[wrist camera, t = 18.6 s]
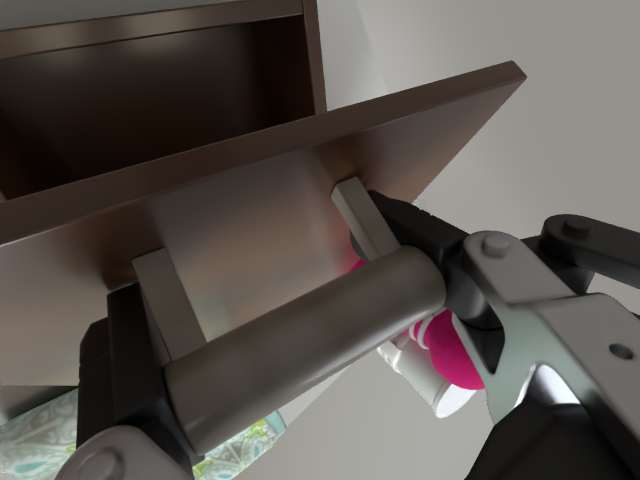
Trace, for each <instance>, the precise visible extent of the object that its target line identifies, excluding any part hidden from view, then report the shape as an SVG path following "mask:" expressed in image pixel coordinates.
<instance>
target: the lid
mask: <svg viewBox="0 0 640 480" xmlns="http://www.w3.org/2000/svg"><path fill="white" fill-rule="evenodd" d="M526 78H527V76H526V74H525V73H524V72H523V71H522V70H521V69H520V68H519V66H518V65H517V64H516V63H515V62H514V61H508V62H504V63H500V64H497V65H493V66H490V67H486V68H483V69H479V70H475V71H472V72H468V73H465V74H461V75H457V76H454V77H450V78H446V79H443V80H439V81H436V82H433V83H428V84H425V85H421V86H418V87H414V88H410V89H407V90H403V91H400V92H396V93H393V94H389V95H385V96H382V97H378V98H374V99H371V100H367V101H364V102H360V103H356V104H353V105H349V106H346V107H342V108H338V109H335V110H331V111H328V112H324V113H320V114H317V115H313V116H310V117H306V118H303V119H299V120H295V121H292V122H288V123H285V124H281V125H277V126H274V127H270V128H267V129H263V130H259V131H256V132H252V133H249V134H245V135H241V136H238V137H234V138H231V139H227V140H223V141H220V142H216V143H213V144H209V145H205V146H202V147H198V148H195V149H191V150H187V151H184V152H180V153H177V154H173V155H169V156H166V157H162V158H159V159H155V160H151V161H148V162H144V163H141V164H137V165H133V166H130V167H126V168H123V169H119V170H115V171H112V172H108V173H105V174H101V175H97V176H94V177H90V178H87V179H83V180H79V181H76V182H72V183H69V184H65V185H61V186H58V187H54V188H51V189H47V190H43V191H40V192H36V193H33V194H29V195H25V196H22V197H18V198H15V199H11V200H8V201H4V202H0V386H78V382H80V380H79V366H80V363H79V355H80V343H81V341H82V339H83V337H84V335H85V333H86V331H87V330H88V328H89V326H90V324H91V323H94V322H96V321H98V320H101V319H103V318H105V317H108V312H107V294H108V293H111V292H113V291H116V290H118V289H121V288H123V287H126V286H128V285H131V284H133V283H136V282H138V281H140V284H141V286H142V289H143V291H144V294H145V297H146V299H147V302H148V304H149V307H150V310H151V312H152V315H153V317H154V320H155V322H156V325H157V328H158V330H159V333H160V335H161V338H162V341H163V343H164V346H165V348H166V351H167V353H168V356H169V359H170V361H169V362H168V363H167V364H166V365H165V366H164V380H165V385H166V389H167V393H168V396H169V400H170V403H171V406H172V408H173V411H174V414H175V416H176V419H177V421H178V424H179V426H180V428H181V431H182V433H183V435H184V437H185V438H186V440H187V442H188V444H189V445H190V447H191V448H192V450H193V451H194V452H195V453H196V454H197V455H199V456H202V455H205V454H206V453H208V452H210V451H211V450H213V449H215V448H216V447H218V446H219V445H221V444H223V443H224V442H226V441H227V440H229V439H231V438H232V437H234V436H235V435H237V434H239V433H240V432H242V431H244V430H245V429H247V428H248V427H250V426H252V425H253V424H255V423H256V422H258V421H260V420H261V419H263V418H264V417H266V416H268V415H269V414H271V413H273V412H274V411H276V410H277V409H279V408H281V407H282V406H284V405H285V404H287V403H289V402H290V401H292V400H293V399H295V398H297V397H298V396H300V395H302V394H303V393H305V392H306V391H308V390H310V389H311V388H313V387H314V386H316V385H318V384H319V383H321V382H322V381H324V380H326V379H327V378H329V377H331V376H332V375H334V374H335V373H337V372H339V371H340V370H342V369H343V368H345V367H347V366H348V365H350V364H351V363H353V362H355V361H356V360H358V359H360V358H361V357H363V356H364V355H366V354H367V353H369V352H371V351H372V350H374V349H376V348H377V347H379V346H380V345H382V344H384V343H385V342H387V341H389V340H390V339H392V338H393V337H395V336H397V335H398V334H400V333H401V332H403V331H405V330H406V329H408V328H409V327H411V326H413V325H414V324H416V323H418V322H419V321H421V320H422V319H424V318H426V317H427V316H429V315H430V314H432V313H434V312H435V311H437V310H438V309H440V308H441V307H442V306H443V304H444V302H445V300H446V286H445V282H444V279H443V277H442V274H441V272H440V270H439V269H438V267H437V266H436V264H435V263H434V261H433V260H432V259H431V258H430V257H429V256H428V255H427V254H426V253H425V252H423V251H422V250H421V249H419V248H417V247H414V246H411V245H403V246H401V245H400V243H399V242H398V240H397V238H396V237H395V235H394V234H393V232H392V231H391V229H390V228H389V226H388V224H387V223H386V221H385V220H384V218H383V217H382V215H381V213H380V212H379V210H378V209H377V207H376V206H375V204H374V203H373V201H372V199H371V198H370V196H369V195H368V193H367V192H366V191H367V190H370V189H373V190H375V191H377V192H379V193H381V194H383V195H385V196H386V197H388V198H393V199H397V200H402V201H406V202H408V203H410V204H411V203H412V202H413V201H414V200H415V199H416V198H417V197H418V196H419V195H420V194H421V193H422V191H423V190H424V189H425V188H426V187H427V186H428V185H429V184H430V183H431V182H432V181H433V179H434V178H435V177H436V176H437V175H438V174H439V173H440V172H441V171H442V170H443V169H444V167H445V166H446V165H447V164H448V163H449V162H450V161H451V160H452V159H453V158H454V157H455V156H456V155H457V154H458V152H459V151H460V150H461V149H462V148H463V147H464V146H465V145H466V144H467V143H468V141H470V139H471V138H472V137H473V136H474V135H475V134H476V133H477V132H478V131H479V129H481V128H482V126H483V125H484V124H485V123H486V122H487V121H488V120H489V119H490V118H491V117H492V116H493V114H494V113H495V112H496V111H497V110H498V109H499V108H500V107H501V106H502V104H504V103H505V101H506V100H507V99H508V98H509V97H510V96H511V95H512V94H513V93H514V92H515V91H516V90H517V88H518V87H519V86H520V85H521V84H522V83H523V82H524V81H525V80H526ZM349 228H350V230H351V232H352V233H353V235H354V236H355V238H356V240H357V241H358V243H359V245H360V246H361V248H362V250H363V251H364V253H365V255H366V256H367V258H368V260H369V261H370V262H368V263H366V264H364V265H362V266H360V267H358V268H356V269H354V270H352V271H350V269H351V268H352V267H353V266H354V265H355V264H356V263H357V262H358V261H359V260H360V259H361V258H360V257H359V256H358V255H357V254H356V252H355V251H354V249H353V247H352V244H351V241H350V230H349ZM349 271H350V272H349Z"/></svg>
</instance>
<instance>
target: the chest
mask: <svg viewBox="0 0 640 480" xmlns="http://www.w3.org/2000/svg"><path fill="white" fill-rule="evenodd" d="M324 112H327V106H326V96H325V85H324V74H323V64H322V53H321V43H320V32H319V22H318V11H317V0H241V1H233V2H224V3H216V4H208V5H200V6H192V7H183V8H175V9H167V10H159V11H151V12H142V13H134V14H126V15H118V16H109V17H101V18H93V19H85V20H77V21H68V22H60V23H52V24H44V25H36V26H27V27H19V28H11V29H3V30H0V202H4V201H8V200H11V199H15V198H18V197H22V196H25V195H29V194H33V193H36V192H40V191H43V190H47V189H51V188H54V187H58V186H61V185H65V184H69V183H72V182H76V181H79V180H83V179H87V178H90V177H94V176H97V175H101V174H105V173H108V172H112V171H115V170H119V169H123V168H126V167H130V166H133V165H137V164H141V163H144V162H148V161H151V160H155V159H159V158H162V157H166V156H169V155H173V154H177V153H180V152H184V151H187V150H191V149H195V148H198V147H202V146H205V145H209V144H213V143H216V142H220V141H223V140H227V139H231V138H234V137H238V136H241V135H245V134H249V133H252V132H256V131H259V130H263V129H267V128H270V127H274V126H277V125H281V124H285V123H288V122H292V121H295V120H299V119H303V118H306V117H310V116H313V115H317V114H320V113H324Z"/></svg>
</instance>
